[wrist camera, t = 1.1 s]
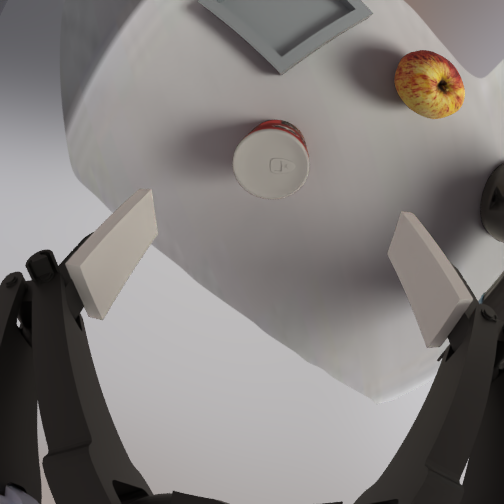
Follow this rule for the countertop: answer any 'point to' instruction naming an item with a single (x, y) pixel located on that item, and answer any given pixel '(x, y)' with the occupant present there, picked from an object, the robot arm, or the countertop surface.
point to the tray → (288, 25)
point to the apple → (429, 84)
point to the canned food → (272, 160)
